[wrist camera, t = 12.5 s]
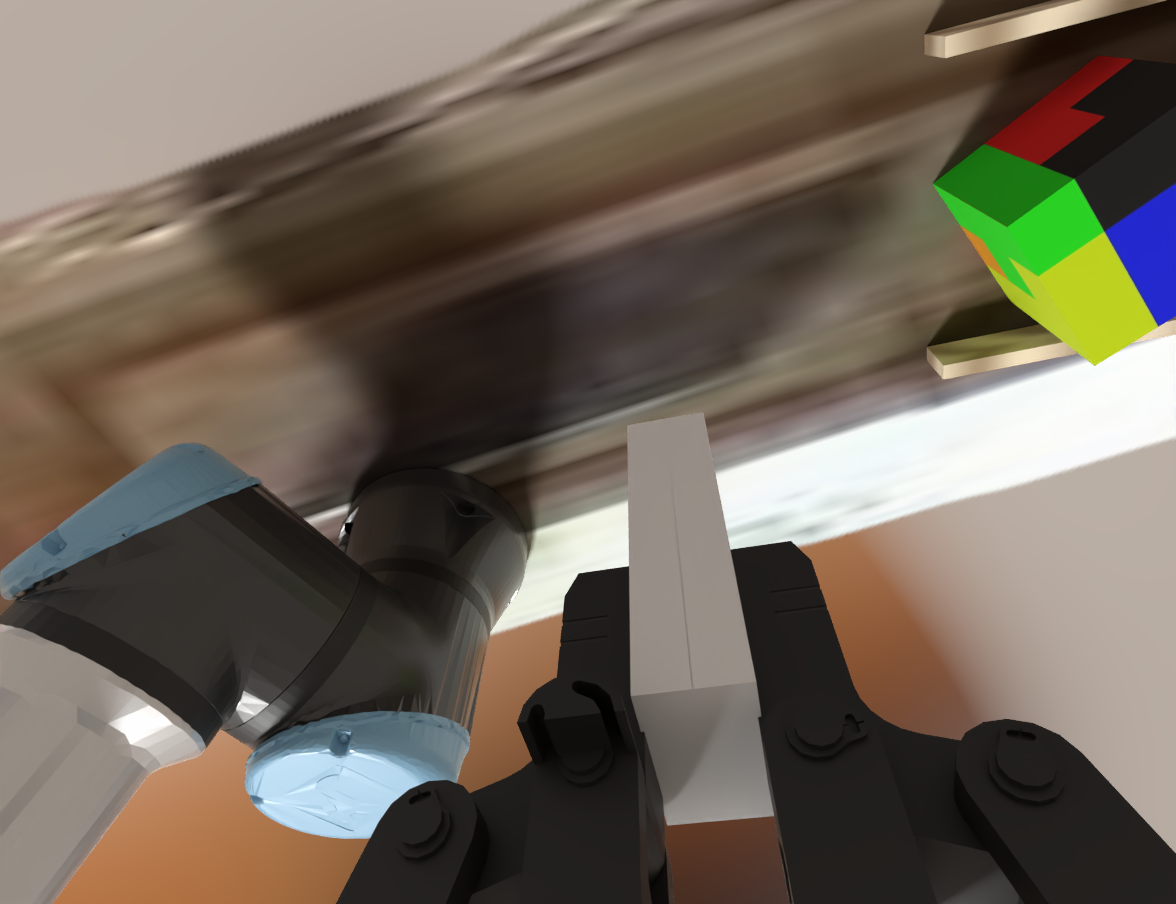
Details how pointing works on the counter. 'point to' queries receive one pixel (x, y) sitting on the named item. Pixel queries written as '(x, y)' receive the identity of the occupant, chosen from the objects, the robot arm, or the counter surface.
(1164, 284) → the puzzle toy
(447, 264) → the counter surface
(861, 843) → the robot arm
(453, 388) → the counter surface
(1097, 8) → the tray
